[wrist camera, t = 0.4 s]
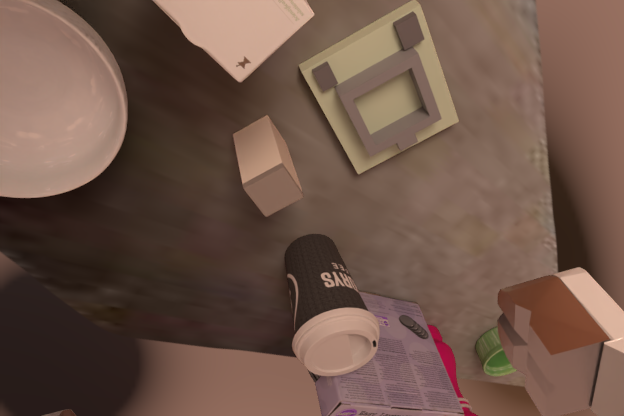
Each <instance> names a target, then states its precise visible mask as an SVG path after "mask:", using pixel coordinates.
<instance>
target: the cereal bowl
mask: <svg viewBox="0 0 624 416" xmlns="http://www.w3.org/2000/svg"><path fill="white" fill-rule="evenodd" d="M127 121H128V100H127V92H126V87H125V83H124V81H123V76H122V74H121V71H120V68H119V66H118V63H117V62H116V60H115V58H114V55H113V54H112V53H111V51H110V50H109V47H108V46H107V45H106V43H105V42H104V41H103V39H102V38H101V37H100V36H99V34H98V33H97V32H96V31H95V30H94V29H93V28H92V27H91V26H90V25H89V24H88V23H87V22H86V21H85V20H84V19H83V18H81V17H80V16H79V15H78V14H76V13H75V12H74V11H72V10H71V9H70V8H68V7H67V6H65V5H63V4H62V3H61V2H59V1H57V0H0V196H4V197H12V198H37V197H47V196H52V195H57V194H61V193H64V192H68V191H71V190H73V189H76V188H78V187H80V186H82V185H84V184H86V183H88V182H90V181H91V180H93V179H94V178H96V177H97V176H98V175H99V174H101V173H102V172H103V171H104V170H105V169H106V168H107V167H108V166H109V164H110V163H111V162H112V160H113V159H114V158H115V156H116V154H117V153H118V151H119V149H120V147H121V145H122V142H123V140H124V136H125V132H126V129H127Z"/></svg>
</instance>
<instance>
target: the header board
mask: <svg viewBox="0 0 624 416" xmlns="http://www.w3.org/2000/svg"><path fill="white" fill-rule="evenodd" d="M298 66H299V68H300V70H301V72H302V74H303V76H304V77H305V79H306V81H307V83H308V85H309V86H310V88H311V90H312V92H313V94H314V96H315V97H316V99H317V101H318V103H319V105H320V106H321V108H322V110H323V112H324V114H325V115H326V117H327V119H328V121H329V123H330V124H331V126H332V128H333V130H334V132H335V133H336V135H337V137H338V139H339V141H340V143H341V144H342V146H343V148H344V150H345V152H346V153H347V155H348V157H349V159H350V161H351V162H352V164H353V166H354V168H355V170H356V171H357V173H358V174H360V173H362V172H364V171H366V170H368V169H370V168H372V167H374V166H375V165H377V164H379V163H381V162H383V161H385V160H387V159H389V158H391V157H392V156H394V155H396V154H398V153H400V152H402V151H404V150H406V149H408V148H409V147H411V146H413V145H415V144H417V143H419V142H421V141H423V140H425V139H427V138H428V137H430V136H432V135H434V134H436V133H438V132H440V131H442V130H444V129H445V128H447V127H449V126H451V125H453V124H455V123H457V122H459V120H458V117H457V114H456V111H455V108H454V105H453V102H452V99H451V96H450V92H449V89H448V86H447V83H446V80H445V77H444V74H443V71H442V68H441V65H440V62H439V59H438V56H437V53H436V50H435V47H434V44H433V41H432V38H431V35H430V32H429V29H428V26H427V23H426V20H425V17H424V14H423V11H422V8H421V5H420V4H419V3H418V2H417V1H416V0H412V1H410V2H408V3H406V4H405V5H403V6H401V7H399V8H398V9H396V10H394V11H392V12H391V13H389V14H387V15H385V16H384V17H382V18H380V19H378V20H377V21H375V22H373V23H371V24H370V25H368V26H366V27H364V28H363V29H361V30H359V31H357V32H356V33H354V34H352V35H350V36H349V37H347V38H345V39H343V40H342V41H340V42H338V43H336V44H335V45H333V46H331V47H329V48H328V49H326V50H324V51H322V52H320V53H319V54H317V55H315V56H313V57H312V58H310V59H308V60H306V61H305V62H303V63H301V64H299V65H298Z"/></svg>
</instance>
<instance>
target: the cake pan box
mask: <svg viewBox="0 0 624 416" xmlns="http://www.w3.org/2000/svg"><path fill="white" fill-rule="evenodd" d="M358 292H359V294H360V296H361V298H362V299H363V301H364V303H365V305H366V307H367V309H368V311H369V312H370V313H372V314H373V315H374V316H375V317H376V318H377V320H378V322H379V328H380V336H379V341H378V348H377V351H376V353H375V355H374V356H373V357H372V359H371V360H370V361H369V362H367V363H366V364H365V365H363V366H362V367H360V368H358V369H356V370H354V371H352V372H349V373H346V374H343V375H338V376H321V375H317V374H314V373H312V372H310V371H309V370H308V371H309V373H310V375H311V377H312V378H313V380H314V382H315V385H316V390H317V394H318V399H319V403H320V409H321V414H322V416H464V411H463V409H462V407H461V404H460V402H459V399H458V397H457V395H456V392H455V390H454V388H453V385H452V383H451V381H450V378H449V376H448V373H447V371H446V369H445V366H444V364H443V362H442V359H441V357H440V354H439V352H438V350H437V347H436V345H435V343H434V340H433V338H432V336H431V333H430V331H429V329H428V326H427V324H426V321H425V319H424V317H423V314H422V312H421V309H420V307H419V305H418V303H416V302H407V301H402V300H397V299H391V298H386V297H381V296H380V295H378V294H372V293H367V292H362V291H358Z"/></svg>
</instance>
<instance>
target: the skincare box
mask: <svg viewBox="0 0 624 416" xmlns="http://www.w3.org/2000/svg"><path fill="white" fill-rule="evenodd" d="M153 1H154V2H155V3H156V4H157V5H158V6H159V7H160V8H161V9H162V10H163V11H164V12H165V13H166V14H167V15H168V16H169V17H170V18H171V19H172V20H173V21H174V22H175V23H176V24H177V25H178V26H179V27H180V28H181V30H182V32H183V34H184V35H185V37H186V38H187V39H188V40H189V41H190V42H192V43H193V44H195V45H197V46H199V47H201V48H202V49H203V50H205V51H206V52H207V53H208V54H209V55H210V56H211V57H212V58H213V59H214V60H215V61H216V62H217V63H218V64H219V65H220V66H221V67H223V68H224V69H225V70H226V71H227V72H228V73H229V74H230V75H231V76H232V77H233V78H234V79H236V80H237V81H238V82H242V81H243V80H245V79H246V78H247V77H248V76H249V75H250V74H251V73H252V72H253V71H254V70H256V69H257V68H258V67H259V66H260V65H261V64H262V63H263V62H264V61H265V60H266V59H267V58H268V57H269V56H271V55H272V54H273V53H274V52H275V51H276V50H277V49H278V48H279V47H280V46H281V45H282V44H283V43H284V42H285V41H287V40H288V39H289V38H290V37H291V36H292V35H293V34H294V33H295V32H296V31H297V30H298V29H299V28H301V27H302V26H303V25H304V24H305V23H306V22H307V21H308V20H309V19H311V18H312V17H313V16H314V13H313V11H312V10H311V8H310V6H309V4H308V3H307V1H306V0H153Z"/></svg>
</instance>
